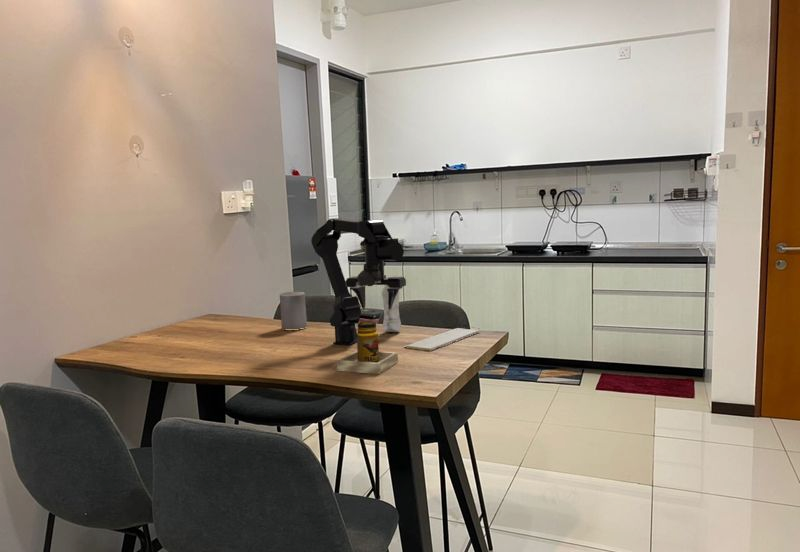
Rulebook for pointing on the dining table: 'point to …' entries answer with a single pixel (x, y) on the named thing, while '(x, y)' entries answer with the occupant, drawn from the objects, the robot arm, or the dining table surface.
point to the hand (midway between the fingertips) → (376, 309)
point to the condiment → (367, 342)
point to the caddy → (367, 363)
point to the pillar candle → (293, 310)
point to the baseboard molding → (442, 339)
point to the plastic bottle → (391, 312)
